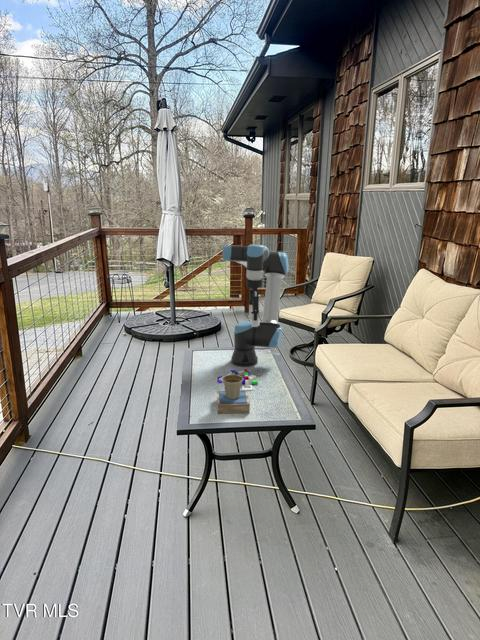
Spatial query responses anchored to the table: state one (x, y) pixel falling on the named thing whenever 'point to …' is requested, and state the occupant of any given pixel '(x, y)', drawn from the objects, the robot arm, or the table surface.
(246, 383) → the building block set
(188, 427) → the table surface
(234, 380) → the flower pot
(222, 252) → the robot arm
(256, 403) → the table surface
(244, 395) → the plinth
